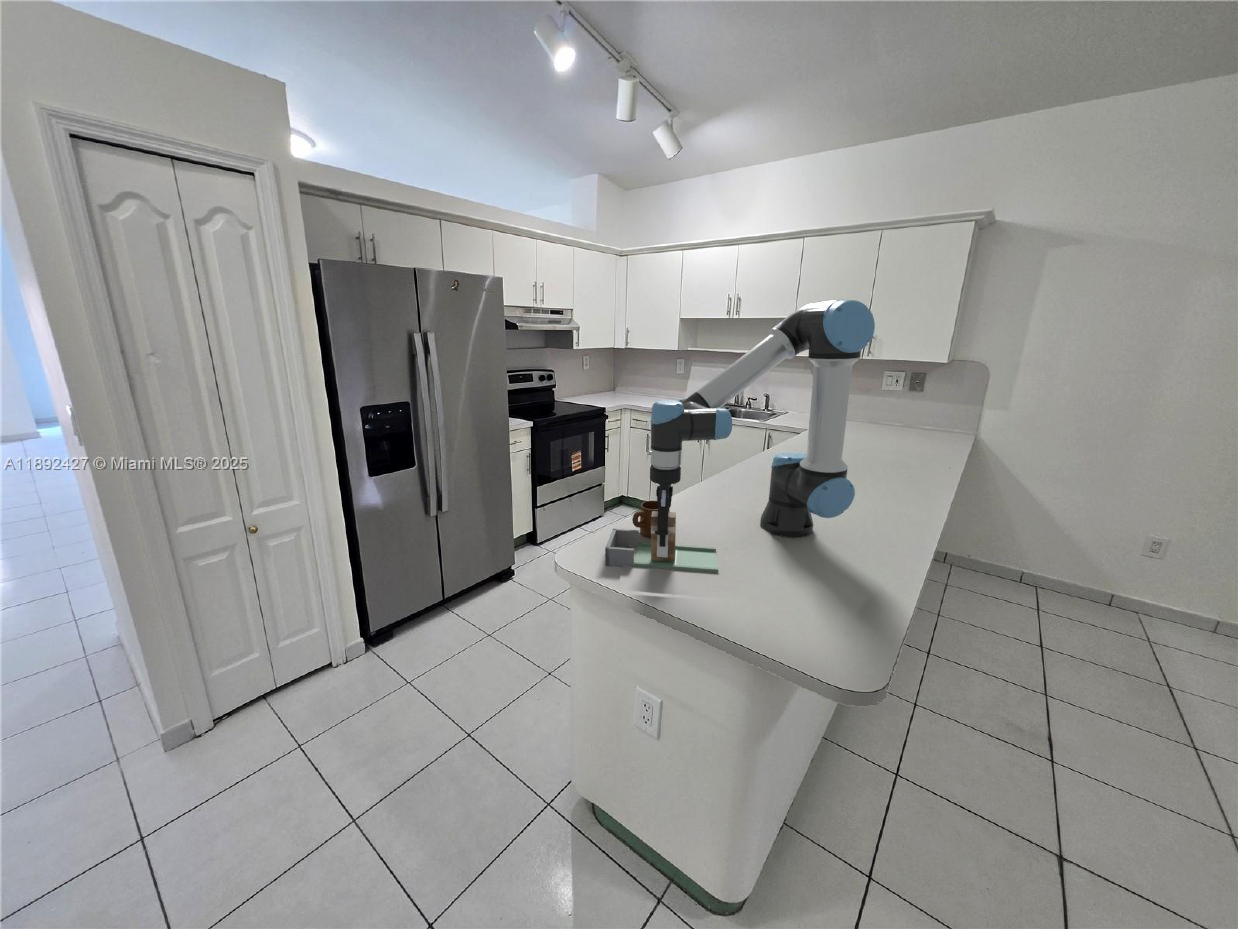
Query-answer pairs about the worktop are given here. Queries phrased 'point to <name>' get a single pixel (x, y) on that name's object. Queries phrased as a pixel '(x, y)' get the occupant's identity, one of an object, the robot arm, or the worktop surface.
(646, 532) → the mug
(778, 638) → the worktop surface
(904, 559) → the worktop surface
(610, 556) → the pitch
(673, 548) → the block
